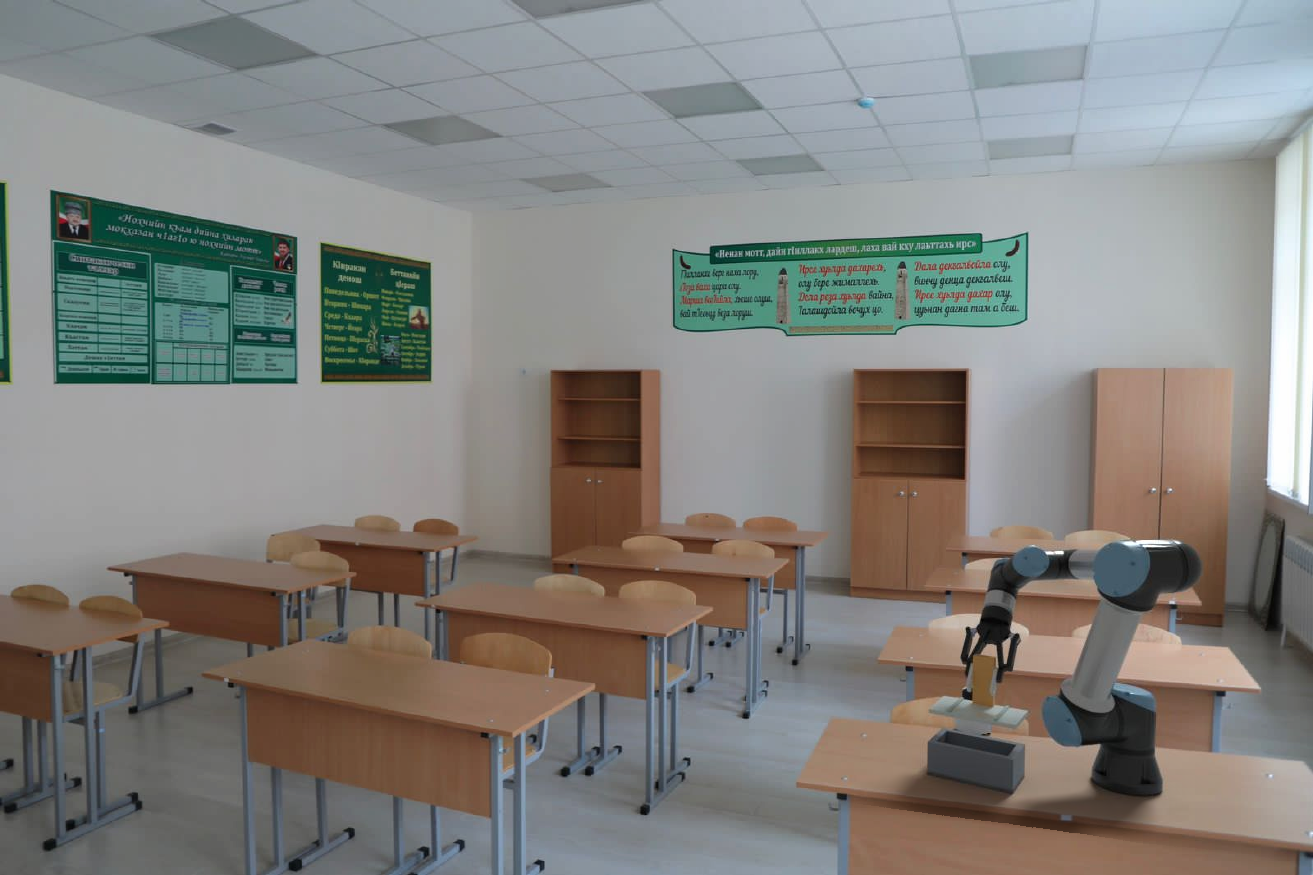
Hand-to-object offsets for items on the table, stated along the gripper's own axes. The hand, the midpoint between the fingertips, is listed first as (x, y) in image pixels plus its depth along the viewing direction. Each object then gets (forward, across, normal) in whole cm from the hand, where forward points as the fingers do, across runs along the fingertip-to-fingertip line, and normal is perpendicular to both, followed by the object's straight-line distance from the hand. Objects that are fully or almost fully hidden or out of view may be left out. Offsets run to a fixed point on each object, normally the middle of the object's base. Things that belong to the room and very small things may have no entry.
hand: (980, 690), depth 224 cm
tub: (+16, 0, -12) cm, 20 cm away
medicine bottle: (-6, +9, -34) cm, 36 cm away
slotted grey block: (+5, 0, -3) cm, 5 cm away
